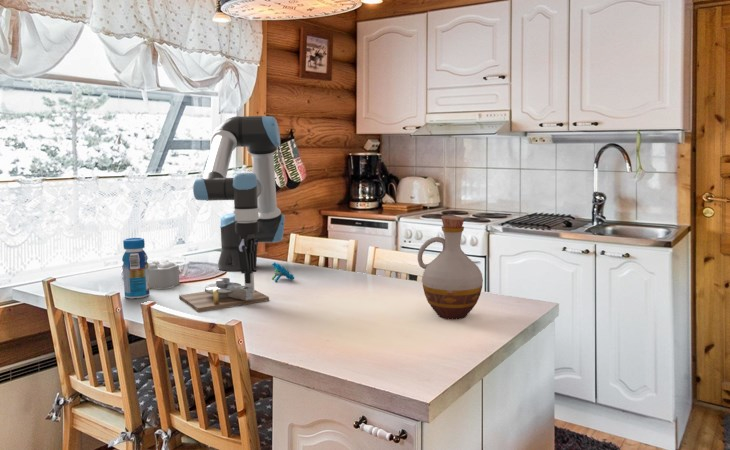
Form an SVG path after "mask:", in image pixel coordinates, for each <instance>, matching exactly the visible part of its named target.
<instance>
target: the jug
mask: <svg viewBox="0 0 730 450" xmlns="http://www.w3.org/2000/svg"><path fill="white" fill-rule="evenodd" d="M440 218H441V222H442V226H441V231H442V232H443V236H444V238H443V237H442V236H441V237H440V236H435V237H431V238H429V239H427V240H426V241H424V243H423V244H421V247H420V248H419V250H418V252H417V262H418V265H419V267H420V268H422V269H424V270H423V272H422V278H421V282H422V283H421V284H422V288H423V292H424V296H425V298H426V301H427V303H428V304H429V305H430V307H431V309H432V311H434V313H436V315H438V317H439V318H441V319H444V320H451V321H453V320H454V321H455V320H463V319H465V318H466V317H467V316H468V315H469V314H470V313H471V311H472V310H473V309H474V308H475V306H476V305H477V303H478V301H479V298H480V296H481V293H482V289H483V283H484V278H483V274H482V273H483V272H481V270H480V267H479V266H478V265H477V264H476V263H475V262H474V261H473V260H472V259H471V258H469V256H468V255H467V254H466V253H465V252H464V250H462V246H461V244H462V243H461V241H462V234H463V232H464V229H465V226H463V225H464V221H465V217H462V216H457V215H441V217H440ZM433 243H440V244H442V251H441V252H440V253H439V254H438V255H437V256H436V257H435V258H434V259H433V260H431V261H430V262H428V263H424V260H423V254H424V253H425V251H426V249H427V248H428V247H429V246H430V245H431V244H433Z"/></svg>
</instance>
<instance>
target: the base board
mask: <svg viewBox="0 0 730 450" xmlns="http://www.w3.org/2000/svg"><path fill="white" fill-rule="evenodd" d="M178 296H179V297H178V299H179V300H180V301H182V302H183V303H184V304H185V305H188V306H189V307H190V308H191V309H193V310H194V311H196V312H197V313H200V312H207V311H212V310H217V309H224V308H231V307H236V306H238V307H239V306H242V305H248V304H255V303H256V304H257V303H261V302H268V301H270V297H269V296H268V295H265V294H264V293H262V292H260V291H257V290H256V289H254V293H253V299H250V300H242V299H238V298H233V297H228V294H219V304H217V305H215V304H214V298H213V294H209V293H206V292H205V291H198V292H193V293H192V292H191V293H185V294H178Z"/></svg>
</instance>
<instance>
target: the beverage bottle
mask: <svg viewBox="0 0 730 450" xmlns="http://www.w3.org/2000/svg"><path fill="white" fill-rule="evenodd" d="M122 242H123V250H125V251H124V252H123V255H122V260H121V261H122V266H121V267H122V276H123V278H122V279H123V287H124V290H123V291H124V298H127V299H132V300H133V299H134V298H137V299H144V298H146V297H148V296H150V293H151V290H150V288H149V273H148V267H149V265H148V263H149V262H148V255H147V253H146V252H145V250H144V249H145V245H146V244H145V243H146V242H145V239H144V237H131V238H130V237H128V238H125V239H123V241H122ZM134 300H135V299H134Z"/></svg>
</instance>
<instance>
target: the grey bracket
mask: <svg viewBox="0 0 730 450" xmlns="http://www.w3.org/2000/svg"><path fill="white" fill-rule="evenodd" d="M215 280H216V281H215V282H216V283H211V284H207V285H205V286H204V292H206V293H209V294H213V290H218V294H228V297H233V298H238V299H242V300H250V299H253V288H251V287H246V286H245V285H242V284H241V283H239V282H232V281H231V280H230V278H229V277H220V278H216V279H215ZM230 281H231V282H230Z"/></svg>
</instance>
